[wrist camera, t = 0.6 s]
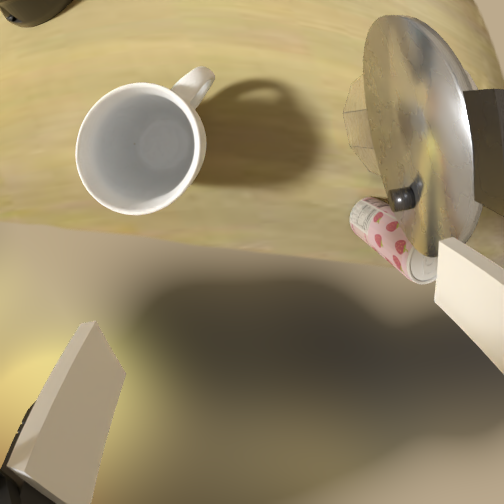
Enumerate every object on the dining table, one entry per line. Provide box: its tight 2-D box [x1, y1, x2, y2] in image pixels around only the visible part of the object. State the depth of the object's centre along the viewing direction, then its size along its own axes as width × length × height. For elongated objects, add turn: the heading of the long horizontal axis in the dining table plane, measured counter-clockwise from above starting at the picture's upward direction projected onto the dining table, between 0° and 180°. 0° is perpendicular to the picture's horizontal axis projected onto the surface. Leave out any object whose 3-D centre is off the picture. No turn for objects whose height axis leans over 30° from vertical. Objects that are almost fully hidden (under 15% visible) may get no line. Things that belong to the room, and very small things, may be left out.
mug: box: [76, 66, 215, 215], centre depth 27 cm, size 15×11×13 cm
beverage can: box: [350, 197, 438, 284], centre depth 32 cm, size 6×6×15 cm
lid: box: [363, 15, 504, 258], centre depth 17 cm, size 17×20×3 cm
